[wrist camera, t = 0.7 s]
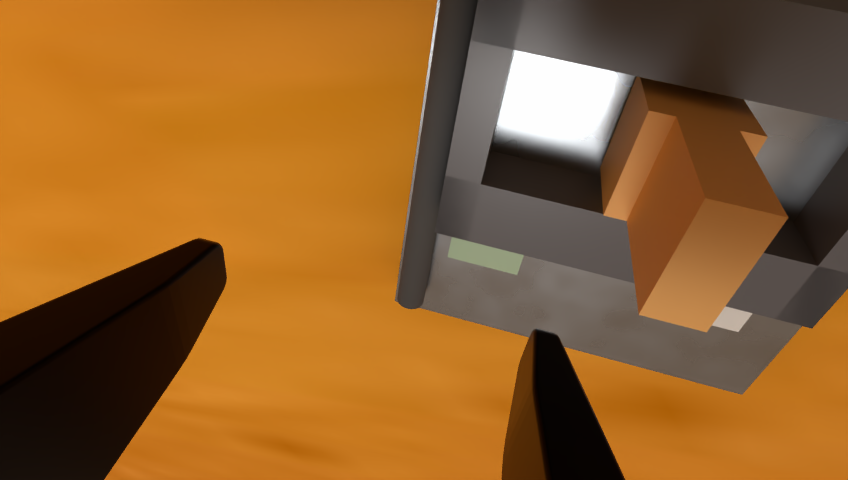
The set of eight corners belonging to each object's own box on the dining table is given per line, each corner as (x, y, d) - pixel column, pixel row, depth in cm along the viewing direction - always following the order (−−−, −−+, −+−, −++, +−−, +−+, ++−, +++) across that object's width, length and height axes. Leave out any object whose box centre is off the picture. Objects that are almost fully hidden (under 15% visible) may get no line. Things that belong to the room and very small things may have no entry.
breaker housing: (991, 24, 14) (1058, 54, 12) (749, 331, 21) (766, 379, 19) (499, -70, 15) (488, -58, 13) (436, 251, 22) (424, 288, 20)
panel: (1300, -310, 10) (1371, -325, 9) (735, 373, 24) (741, 394, 23) (504, -410, 12) (498, -432, 11) (401, 284, 26) (394, 301, 25)
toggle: (739, 93, 16) (825, 226, 10) (688, 188, 18) (736, 340, 12) (638, 71, 16) (669, 190, 10) (600, 167, 18) (609, 307, 13)
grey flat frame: (1270, -287, 10) (1342, -300, 9) (730, 374, 23) (736, 397, 22) (501, -386, 11) (494, -407, 10) (401, 286, 24) (394, 304, 23)
